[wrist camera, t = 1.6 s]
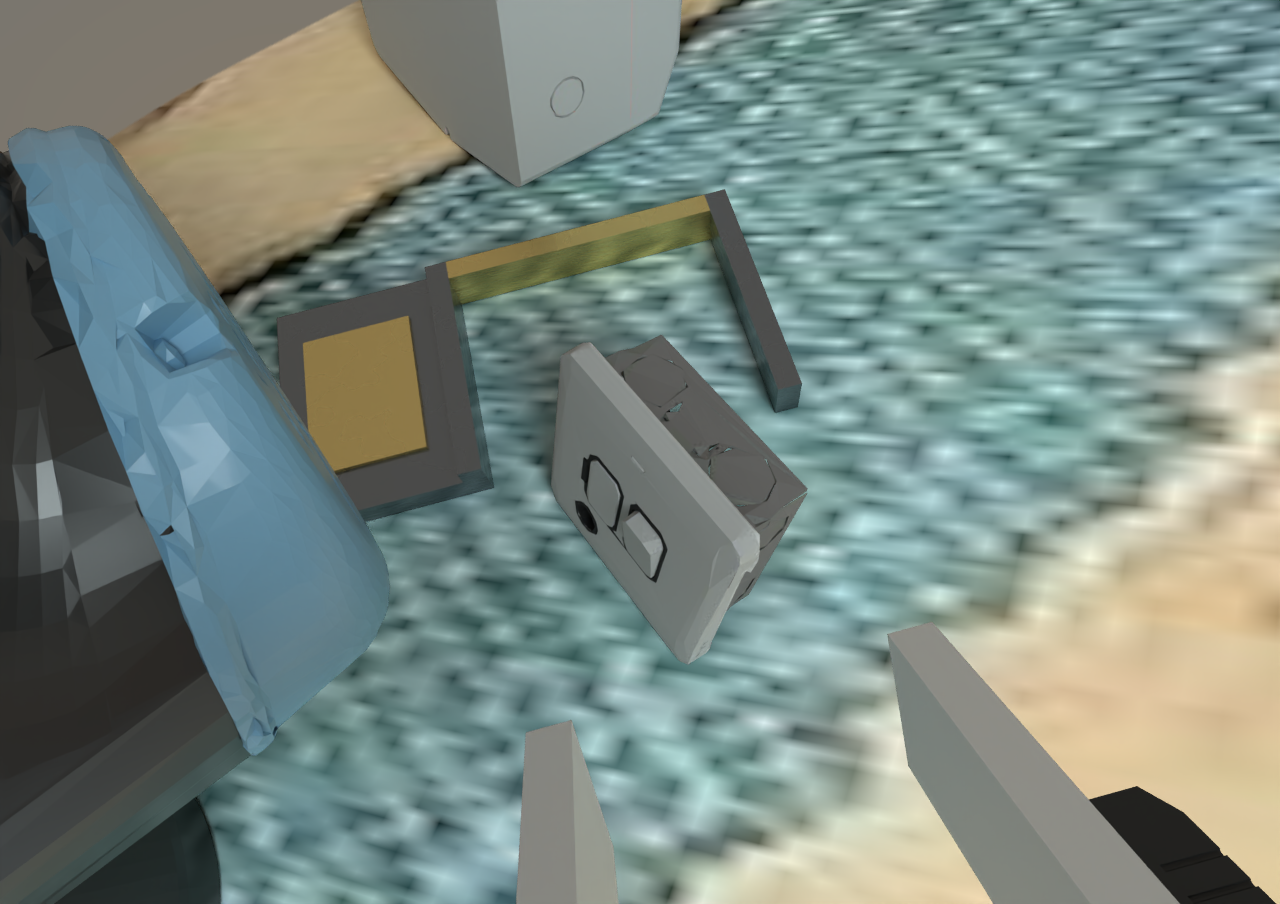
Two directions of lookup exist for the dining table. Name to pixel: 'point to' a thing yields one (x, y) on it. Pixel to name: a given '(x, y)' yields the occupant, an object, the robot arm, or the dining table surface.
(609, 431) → the electrical switch
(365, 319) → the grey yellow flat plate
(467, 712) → the dining table surface
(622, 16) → the electrical switch box
